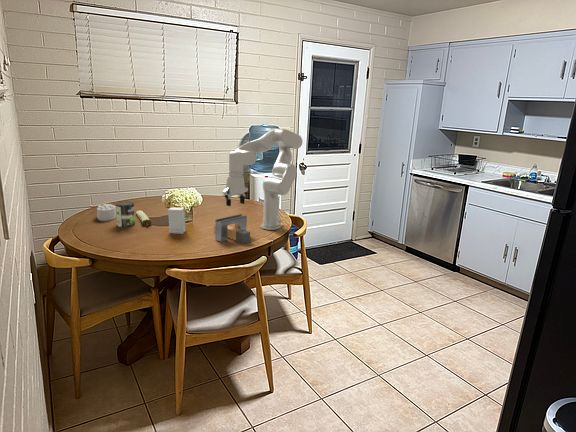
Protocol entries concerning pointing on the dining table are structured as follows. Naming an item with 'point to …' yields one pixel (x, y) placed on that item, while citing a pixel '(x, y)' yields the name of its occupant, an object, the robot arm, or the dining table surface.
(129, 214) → the coffee can
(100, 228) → the dining table surface
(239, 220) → the grey arch-shaped block
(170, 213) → the skincare box
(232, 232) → the plug
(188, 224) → the dining table surface
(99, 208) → the lumpy-topped squat cylinder
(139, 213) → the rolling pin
